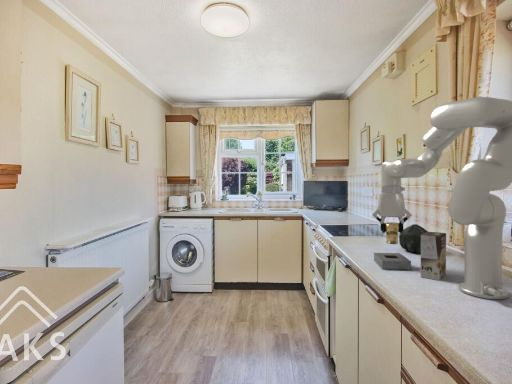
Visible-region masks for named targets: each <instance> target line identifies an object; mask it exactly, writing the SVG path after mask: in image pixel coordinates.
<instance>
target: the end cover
mask: <svg viewBox="0 0 512 384" xmlns="http://www.w3.org/2000/svg"><path fill="white" fill-rule="evenodd" d="M384 224H385V233H386V234H385V237H386V242H385V243H386V244H387V245H398V243H399V241H398V240H399V235H398V233H399V232H400V223H399V222H389V221H388V222H384Z"/></svg>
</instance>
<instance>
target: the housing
mask: <svg viewBox="0 0 512 384" xmlns="http://www.w3.org/2000/svg"><path fill="white" fill-rule="evenodd" d="M373 261H374V262H375V263H376V265H378V267H379V268H380V269H381V270H386V271H387V270H393V271H395V270H398V271H412V261H411V260H410V259H408V258H407V257H406V256H405V255H403V254H402V253H400V252H373Z"/></svg>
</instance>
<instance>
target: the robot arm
mask: <svg viewBox="0 0 512 384" xmlns="http://www.w3.org/2000/svg"><path fill="white" fill-rule="evenodd" d="M429 122H430V125H431V127H430V128H429V130H427V132H425V133H424V134H423V136H422V143H423V145H425V147H426V148H425V150H424V151H423V152H422V154H420V155H419V156H418V157H417V158H400V159H396V160H388V161H383V162H381V172H380V175H381V177H380V179H381V193H379V195H378V203H377V204H378V208H377V209H376V210H375V211H374V212H373V213H372V217H373V218H374V219H376V220H377V221H378V222H379V224H380V231H381V232H382V234H385V233H386V232H385V224H384V223H385V220H386V218H397V219H398V221H399V222H398V223H400V232H398V233H399V234H400V233H402V231H403V230H404V224H405V223H406V222H407V221H408V220H409V219H410V218H411V217H412V216H413V214H412V213H411V212H409V211H408V210H407V209H406V204H405V203H406V202H405V198H404V194H403V193H402V192H403V191H405V190H406V189H405V187H403V186H402V179H407V178H409V179H412V178H415V179H416V178H417V179H418V178H420V177H423V176H425V175H426V174H428V173H429V172H430V171H431V170H432V169H434V168H435V167H436V166H437V164H438V163H439V161H440V160H441V157H442V156H443V153H444V150H445V149H446V148H448V147H449V146H450V145H451V144H452V143H453V142H454V141H456V139H458V137H460V136H461V135H462V134H463V133H464V132H465V131H467V129H469V128H487V129H495V130H496V133H495V134H494V136H493V137H492V138H491V140H490V141H489V142H488V146H487V149H486V152H485V154H484V157H483V158H481V159H474V160H471V161H469V162H467V163H465V165H464V166H463V167H462V168H461V169H460V171H459V172H458V175H457V177H456V181H455V184H454V186H453V190H452V193H451V196H450V198H449V200H448V201H449V202H448V206H447V208H448V209H447V210H448V215H449V218H451V220H452V221H453V222H454V223H456V224H458V225H461V226H466V227H465V233H464V255H463V256H464V258H463V259H464V260H463V261H464V263H463V264H464V265H463V266H464V267H463V268H464V270H463V271H464V273H463V276H464V278H463V279H464V281H463V282H461V283H459V284H458V290H459V291H461V292H462V293H464V294H467V295H469V296H473V297H475V298H481V299H485V300H486V299H487V300H503V299H504V300H505V299H507V298H509V291H508V290H506V289H504V288H503V285H504V284H503V275H502V274H503V233H504V224H505V221H506V216H507V215H506V214H507V207H506V205H505V202H504V201H503V199H502V198H501V197H499V196H497V195H496V194H493V193H490V192H495V191H496V192H497V191H502V190H505V189H507V188H509V187H510V186H511V184H512V100H509V99H504V98H498V97H497V98H496V97H491V96H489V97H488V96H479V97H472V98H467V99H462V100H456V101H450V102H445V103H442V104H440V105H438V106H436V107H435V109H433V111H432V112H431V113H430V116H429ZM379 216H380V217H379Z"/></svg>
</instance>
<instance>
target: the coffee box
mask: <svg viewBox="0 0 512 384" xmlns="http://www.w3.org/2000/svg"><path fill="white" fill-rule="evenodd" d="M446 275H447V233H445V232H439V231H438V232H437V231H428V232H426V233H423V234H421V252H420V277H421V278H425V279H430V280H435V281H440V280H441V279H443V278H444V277H445V276H446Z"/></svg>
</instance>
